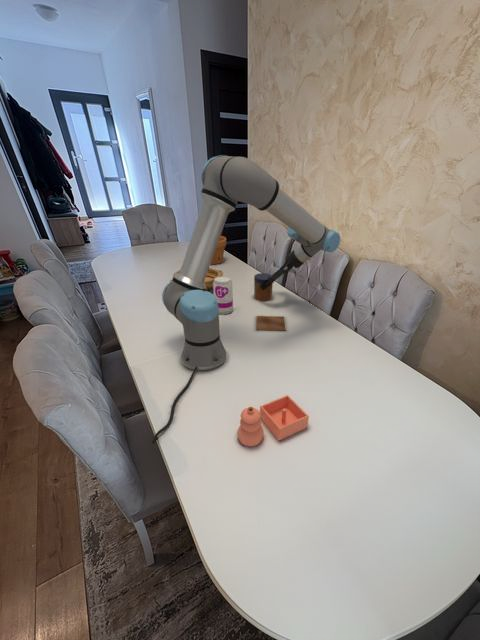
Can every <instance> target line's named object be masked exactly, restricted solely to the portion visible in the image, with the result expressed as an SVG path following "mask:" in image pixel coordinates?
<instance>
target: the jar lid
mask: <svg viewBox="0 0 480 640" xmlns="http://www.w3.org/2000/svg"><path fill="white" fill-rule="evenodd" d="M272 275H273V274H270V273H267V272H265V273H264V272H261V273H256V274H254V276H253V281H256V282H258V283H264V282H265V281H266V280H267V279H269V278H268V277H272Z"/></svg>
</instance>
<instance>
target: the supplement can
mask: <svg viewBox="0 0 480 640" xmlns="http://www.w3.org/2000/svg"><path fill="white" fill-rule="evenodd" d="M212 289H213V295H214V296H215V297H216V299H217V302H218V306H219V314H220V315H228V314H230V313H232V312H233V310H234V298H233V297H234V294H233V291H234V290H233V281H232V279H231V277H229V276H226V275H225V276H223V275H222V276H221V277H216V278H215V279H214V282H213V287H212Z"/></svg>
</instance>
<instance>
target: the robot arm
mask: <svg viewBox="0 0 480 640" xmlns="http://www.w3.org/2000/svg"><path fill="white" fill-rule="evenodd" d="M200 175H201V177H200V179H201V184H202V189H201V191H200V197H201V198H202V204H201V208H200V210H199V213H198V217H197V219H196V223H195V225H194V228H193V232H192V234H191V238H190V241H189V243H188V246H187V249H186V252H185V256H184V259H183V261H182V264H181V267H180V269H179V270H180V272H179V273H177V274H175V275H174V274H173V275H174V276H173V275H172V279H171V280H172V281H171V280H170V281H171V282H170V281H169V283H167V284H166V285H165V286H164V288H163V290H162V294H161V300H162V303H163V305H164V307H165V309H166V310H167V311H168V313H169V314H171V315H172V316H173V317H174V318H175V319H176V320H177V321H179V323H180V324H181V325H182V328H183V329H182V331H183V336H184V344H183V348H182V351H181V362H182V364H183V366H184V367H185V368H187V369H189V370H191V371H192V373H191V375H190V376H189V379H188V381H187V383H186V385H184V387H183V388H182V390H181V391H180V392H179V393H177V396H176V397H175V399H174V400H173V402H172V405H171V408H170V415H169V419H168V421H167V423H166V424H165V425H164V426H163V427H161V429H159V430H158V431H157V432H156V433H155V434H154V436H153V438H152V440H151V445H154V444H156V441H157V438H159V436H160V434H162V433H163V432H165V431H166V430H167V429H168V427H170V425H171V423H172V421H173V417H174V413H175V408H176V405H177V402H178V400H179V399H180V397H181V396H182V395H183V394H184V393H185V391H186V390H187V389H188V387H189V386H190V384H191V382H192V380H193V378H194V376H195V374H196V373H197V372H208V371H212V370H215V369H218V368H220V367H221V366H223V365H224V364H225V362H227V361H226V360H227V351H226V348H225V347H224V344H223V341H222V340H221V335H220V334H221V333H220V331H221V330H220V315H219V314H220V313H219V306H218V302H217V299H216V297H215V296H214V293H212V292H210V291H209V290H208V291H205V290H206V286H205V283H204V280H205V277H206V274H207V272H208V269H209V268H210V266H211V265H210V263H211V260H212V258H213V255H214V252H215V249H216V246H217V244H218V241H219V238H220V236H222V233H223V229H224V227H225V224H226V221H227V218H228V216H229V214H230V213H231V212H234V211H235V210H236V208H237V204H238V202H240V203H244V204H247V205H249V206H252V207H254V208H256V209H257V210H258V211H261V212H264V211H266V212H267V213H268V214H270V215H271V216H273V217H274V218H276V220H278V221H280V222H281V223H282V224H284V225H285V226H286V227H287V230H286V232H287V235H288V237H289V238H290V239H292V241H295V242H297V243H298V244H299V245H297V246H296V247H295V248H294V249H292V251H291V252H289V253H288V254H287V260H286V261H285V262H284V263H283V264H282V266H280V267H279V269H278V270H276V271H275V272H274V273H272V274H271V275H272V277H268V278H269V279H267V280H266V281H265V282H264V283H263V284H262V285H260V287H261V288H262V290H265V289H266V288H267V287H268V286H270V285H271V284H272V283H273V284H274V283H275V282H276V281H277V280H278V279H280V277H282V276H283V275H285V274H287V272H289V271H290V270H292V269H293V268H295V269H299V268H300V267H302V266H303V265H304V264H305V263H306V262H308V261H312V260H311V259H312V257H314V256H316V254H317V253H319V252H320V251H323V252H328V253H333V252H335V251H337V249H338V248H339V245H340V243H341V235H340V233H339V232H338V231H336V230H334V229H329V228H328V227H326V226H325V225H324V224H323V223H322V222H321V221H319V220H318V219H317V218H316V217H315V216H313V214H312V213H310V212H309V211H308V210H306V209H305V208H304V207H303V206H301V204H299V203H298V202H297V201H296V200H295V199H293V198H292V197H291V196H290V195H288V194H287V193H286V192H285V191H284V190H283V189H281V187H280V183H279V181H278V180H276V179H275V178H274V177H273V176H272V175H271V174H270V173H268V171H266V169H264V168H263V167H261V166H260V165H259V164H257V163H256V162H254V161H253V160H251V159H250V158H247V157H245V156H232V155H231V156H229V155H225V154H220V155H217V156H213V157H210V158H209V159H208V160H207V161H206V162H205V164H204V165H203V167H202V169H201V174H200Z"/></svg>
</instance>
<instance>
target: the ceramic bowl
mask: <svg viewBox="0 0 480 640" xmlns="http://www.w3.org/2000/svg"><path fill="white" fill-rule="evenodd" d="M180 270H181V269H179V270H177V271H175V272H174V273H173V275H172V277H173V276H174V275H175V274H177V273H179V272H180ZM223 275H224V272H223V270H219V269H216V268H212V267H209V269H208V272H207V274H206V277H205V280H204V283H205V286H206V290H205V291H208V292H209V290H210V289H213V282H214V279H215V278H216V277H221V276H223ZM171 281H172V279H170V280H169V283H170V282H171Z"/></svg>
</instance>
